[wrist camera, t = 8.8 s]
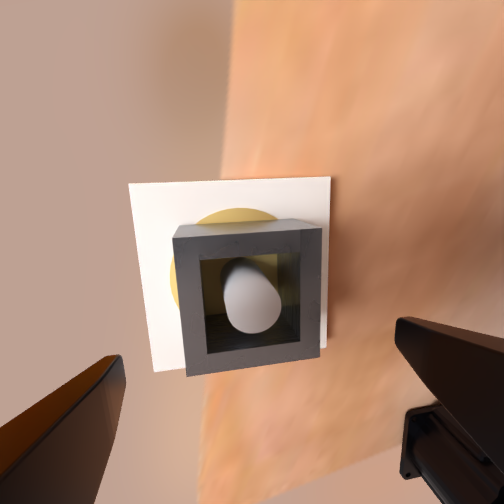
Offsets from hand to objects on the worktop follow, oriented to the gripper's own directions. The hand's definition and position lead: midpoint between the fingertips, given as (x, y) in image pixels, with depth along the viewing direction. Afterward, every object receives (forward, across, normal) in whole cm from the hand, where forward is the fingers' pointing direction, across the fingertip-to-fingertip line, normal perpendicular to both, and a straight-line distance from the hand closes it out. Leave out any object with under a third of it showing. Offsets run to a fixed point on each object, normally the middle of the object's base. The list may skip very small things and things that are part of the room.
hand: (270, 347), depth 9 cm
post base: (+9, 0, 0) cm, 9 cm away
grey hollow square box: (+8, 0, 0) cm, 8 cm away
